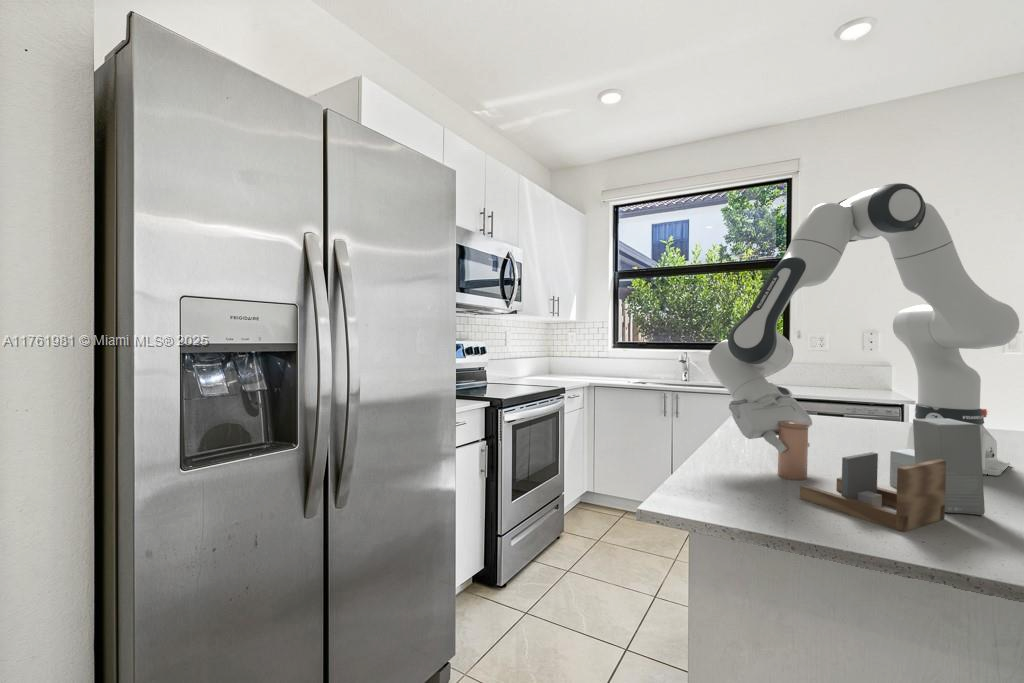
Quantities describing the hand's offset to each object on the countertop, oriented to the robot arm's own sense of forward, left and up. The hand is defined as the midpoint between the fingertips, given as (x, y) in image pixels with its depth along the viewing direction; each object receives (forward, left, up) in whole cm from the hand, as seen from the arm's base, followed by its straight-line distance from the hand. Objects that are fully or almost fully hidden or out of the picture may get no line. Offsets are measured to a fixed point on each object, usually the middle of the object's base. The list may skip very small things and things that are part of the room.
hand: (795, 449), depth 107 cm
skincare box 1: (-15, +15, -6) cm, 22 cm away
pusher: (+6, +18, -6) cm, 19 cm away
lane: (+6, +18, -6) cm, 20 cm away
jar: (0, -1, -6) cm, 6 cm away
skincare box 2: (-8, +23, -6) cm, 25 cm away
